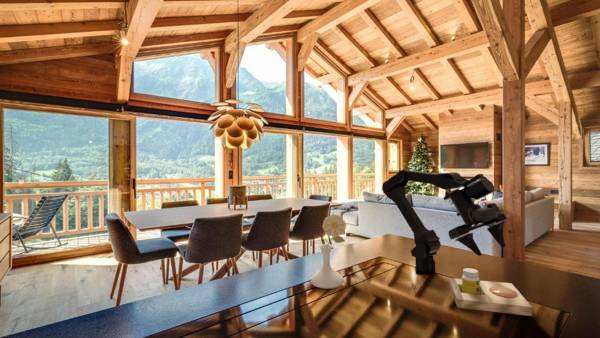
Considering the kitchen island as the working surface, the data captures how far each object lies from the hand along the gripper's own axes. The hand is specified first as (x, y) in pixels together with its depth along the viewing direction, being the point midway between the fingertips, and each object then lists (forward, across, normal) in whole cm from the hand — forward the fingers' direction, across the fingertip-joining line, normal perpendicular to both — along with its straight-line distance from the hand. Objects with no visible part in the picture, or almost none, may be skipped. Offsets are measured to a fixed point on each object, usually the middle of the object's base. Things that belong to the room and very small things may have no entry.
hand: (492, 251), depth 94 cm
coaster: (+11, -3, +1) cm, 12 cm away
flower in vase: (-7, -48, +22) cm, 53 cm away
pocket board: (+12, -7, +4) cm, 14 cm away
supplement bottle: (+10, -11, +6) cm, 16 cm away
